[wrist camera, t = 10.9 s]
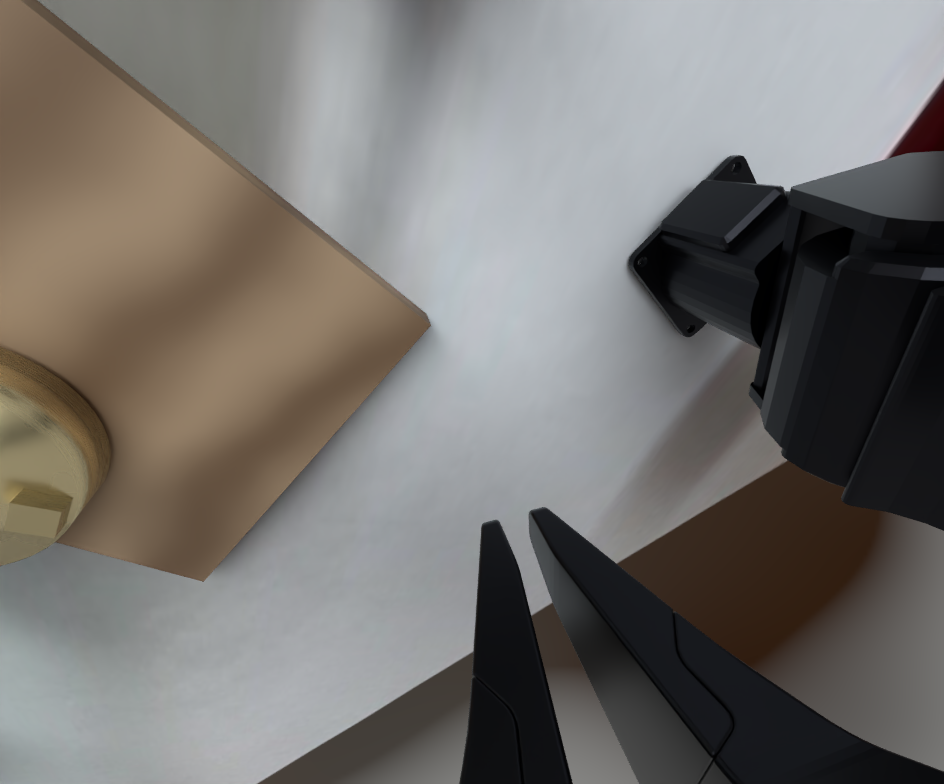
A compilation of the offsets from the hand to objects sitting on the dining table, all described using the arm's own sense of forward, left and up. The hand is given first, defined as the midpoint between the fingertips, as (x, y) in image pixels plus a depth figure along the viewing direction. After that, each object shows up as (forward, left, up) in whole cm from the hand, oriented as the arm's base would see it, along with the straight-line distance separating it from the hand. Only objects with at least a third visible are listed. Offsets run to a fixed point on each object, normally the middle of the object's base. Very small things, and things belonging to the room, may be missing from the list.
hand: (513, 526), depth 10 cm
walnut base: (+9, +9, -12) cm, 17 cm away
